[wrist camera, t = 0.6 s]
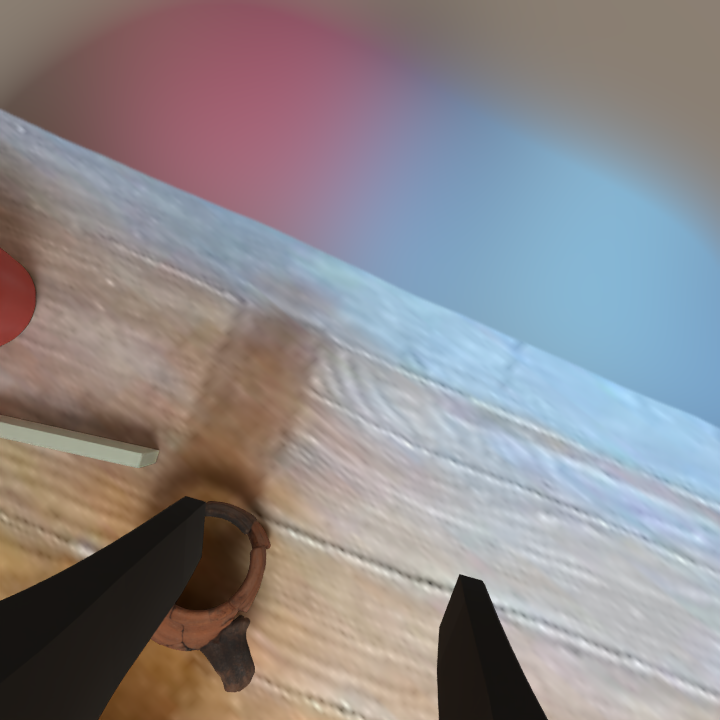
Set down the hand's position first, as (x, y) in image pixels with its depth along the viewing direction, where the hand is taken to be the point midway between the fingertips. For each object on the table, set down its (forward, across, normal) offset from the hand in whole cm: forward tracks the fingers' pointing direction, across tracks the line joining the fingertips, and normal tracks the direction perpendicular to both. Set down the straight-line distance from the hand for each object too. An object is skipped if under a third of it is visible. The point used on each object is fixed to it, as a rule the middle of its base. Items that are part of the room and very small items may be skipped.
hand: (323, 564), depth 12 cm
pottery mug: (+14, +9, +19) cm, 25 cm away
